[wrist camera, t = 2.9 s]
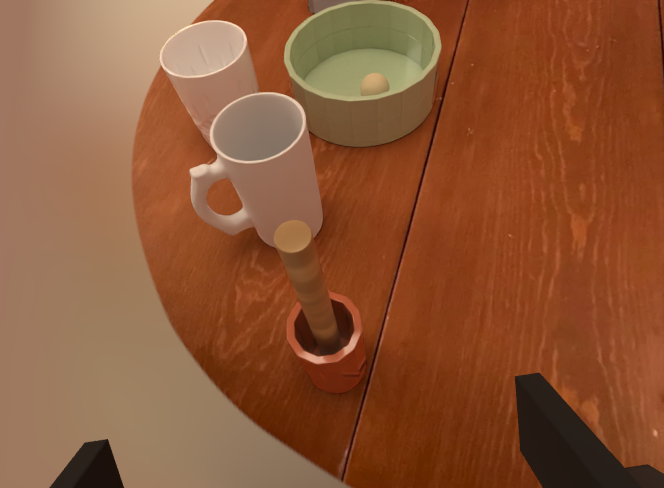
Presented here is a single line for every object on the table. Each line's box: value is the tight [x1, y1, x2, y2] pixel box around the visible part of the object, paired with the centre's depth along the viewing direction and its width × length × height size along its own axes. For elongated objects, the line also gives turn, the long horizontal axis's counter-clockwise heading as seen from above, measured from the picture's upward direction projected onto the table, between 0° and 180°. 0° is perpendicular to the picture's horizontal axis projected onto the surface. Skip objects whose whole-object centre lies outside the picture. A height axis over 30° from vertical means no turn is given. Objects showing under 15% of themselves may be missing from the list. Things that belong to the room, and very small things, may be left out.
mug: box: [190, 92, 323, 248], centre depth 36 cm, size 10×7×12 cm, turn 121°
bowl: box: [284, 0, 442, 147], centre depth 46 cm, size 15×15×6 cm
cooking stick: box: [274, 220, 343, 356], centre depth 26 cm, size 2×2×18 cm
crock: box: [286, 291, 367, 394], centre depth 31 cm, size 5×5×8 cm
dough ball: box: [360, 73, 389, 96], centre depth 46 cm, size 3×3×3 cm
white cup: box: [159, 20, 260, 148], centre depth 44 cm, size 8×8×10 cm
